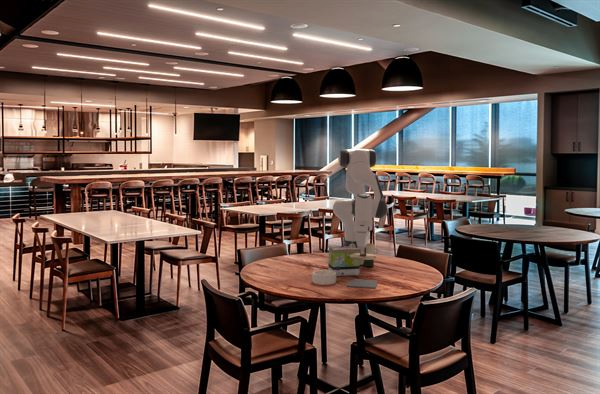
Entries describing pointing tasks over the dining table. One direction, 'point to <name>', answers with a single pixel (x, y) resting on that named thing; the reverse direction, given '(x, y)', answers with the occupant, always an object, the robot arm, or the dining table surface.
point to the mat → (362, 283)
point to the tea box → (343, 260)
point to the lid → (363, 256)
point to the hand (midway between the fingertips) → (363, 253)
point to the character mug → (370, 250)
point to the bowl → (324, 277)
